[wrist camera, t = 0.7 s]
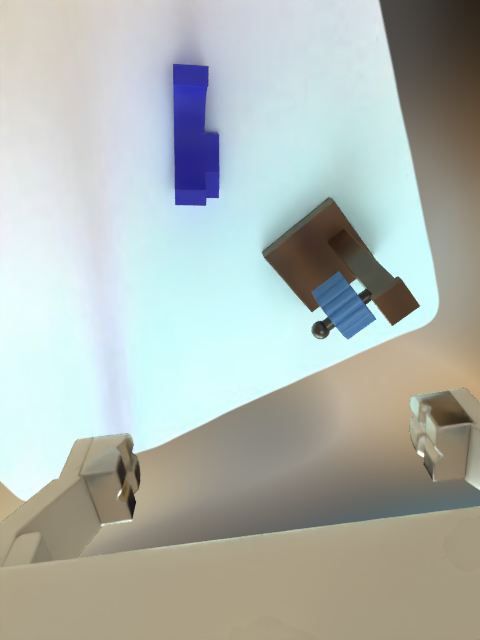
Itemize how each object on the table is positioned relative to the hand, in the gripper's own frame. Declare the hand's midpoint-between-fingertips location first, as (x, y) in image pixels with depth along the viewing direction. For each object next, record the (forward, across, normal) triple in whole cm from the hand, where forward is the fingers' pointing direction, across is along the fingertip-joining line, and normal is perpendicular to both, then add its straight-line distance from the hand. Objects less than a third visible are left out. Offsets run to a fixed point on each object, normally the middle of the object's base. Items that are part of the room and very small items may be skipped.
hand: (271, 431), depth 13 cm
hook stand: (+43, -9, +9) cm, 45 cm away
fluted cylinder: (+34, -9, +10) cm, 37 cm away
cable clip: (+41, +3, -7) cm, 41 cm away
